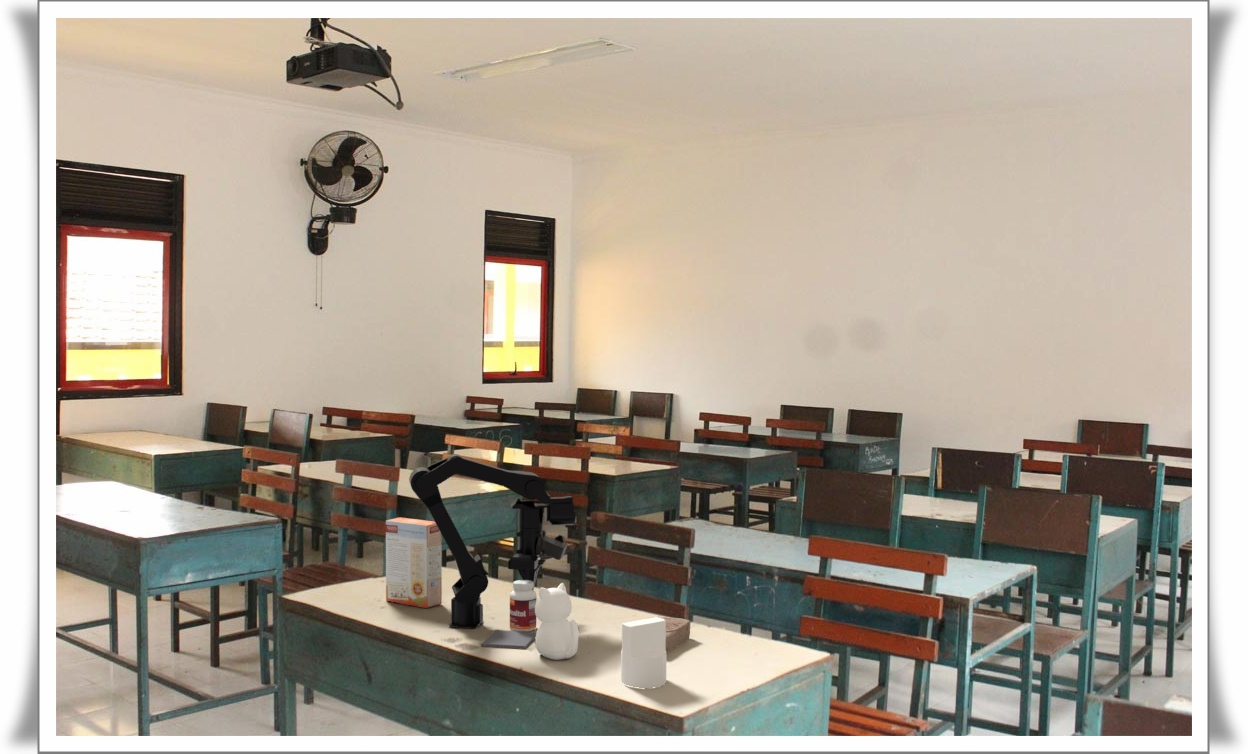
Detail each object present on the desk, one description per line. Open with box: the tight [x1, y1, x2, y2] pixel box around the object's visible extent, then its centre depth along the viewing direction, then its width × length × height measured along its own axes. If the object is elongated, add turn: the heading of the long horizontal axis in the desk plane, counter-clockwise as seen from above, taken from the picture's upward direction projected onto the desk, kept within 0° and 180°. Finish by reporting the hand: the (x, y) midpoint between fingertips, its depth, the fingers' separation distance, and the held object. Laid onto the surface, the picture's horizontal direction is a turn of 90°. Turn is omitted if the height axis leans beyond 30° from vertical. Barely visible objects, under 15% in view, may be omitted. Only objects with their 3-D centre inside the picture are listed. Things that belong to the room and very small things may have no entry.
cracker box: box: [385, 517, 443, 609], centre depth 283 cm, size 14×6×21 cm, turn 58°
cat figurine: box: [535, 582, 579, 661], centre depth 239 cm, size 9×12×15 cm
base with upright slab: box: [620, 616, 667, 689], centre depth 223 cm, size 9×9×12 cm
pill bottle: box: [509, 579, 538, 632], centre depth 260 cm, size 6×6×11 cm
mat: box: [480, 629, 537, 650], centre depth 251 cm, size 10×11×1 cm
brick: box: [657, 616, 692, 654], centre depth 248 cm, size 17×8×5 cm, turn 153°
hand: (530, 591), depth 267 cm, fingers closed
